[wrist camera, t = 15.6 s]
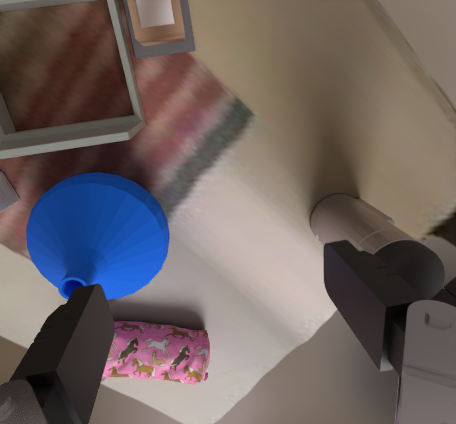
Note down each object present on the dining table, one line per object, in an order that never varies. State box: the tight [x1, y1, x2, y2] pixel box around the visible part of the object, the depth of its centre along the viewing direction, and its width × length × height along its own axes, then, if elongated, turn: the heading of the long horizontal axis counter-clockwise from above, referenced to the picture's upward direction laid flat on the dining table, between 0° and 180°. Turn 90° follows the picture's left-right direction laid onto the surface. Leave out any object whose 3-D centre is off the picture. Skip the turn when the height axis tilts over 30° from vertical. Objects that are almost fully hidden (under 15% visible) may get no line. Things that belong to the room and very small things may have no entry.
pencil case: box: [101, 321, 210, 385], centre depth 55 cm, size 21×9×9 cm, turn 78°
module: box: [127, 0, 185, 46], centre depth 36 cm, size 6×6×8 cm
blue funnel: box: [26, 172, 170, 300], centre depth 41 cm, size 18×18×19 cm
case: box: [0, 0, 146, 159], centre depth 34 cm, size 19×16×14 cm
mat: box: [123, 0, 195, 59], centre depth 40 cm, size 8×8×1 cm
